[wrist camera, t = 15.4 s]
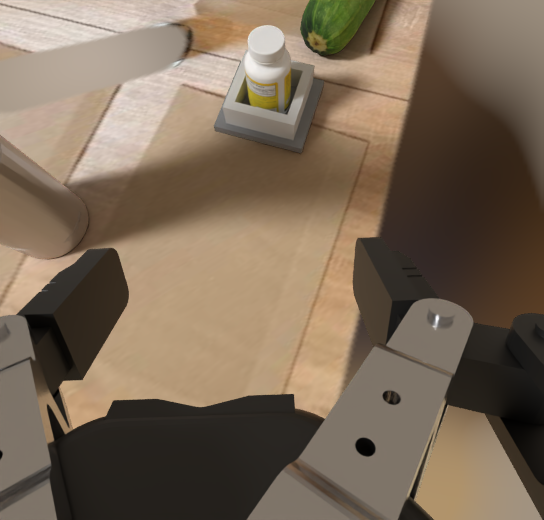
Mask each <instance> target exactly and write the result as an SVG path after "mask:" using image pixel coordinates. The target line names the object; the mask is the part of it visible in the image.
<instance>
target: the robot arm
mask: <svg viewBox="0 0 544 520" xmlns="http://www.w3.org/2000/svg"><path fill="white" fill-rule="evenodd" d="M88 220H89V218H88V211H87V208H86V205H85V204H84V202H83V201H82V200H81V199H80V198H79V197H78V196H77V195H75V194H74V193H73V192H72V191H70V190H69V189H68V188H67V187H65V186H64V185H63V184H62V183H61V182H59V181H58V180H57V179H56V178H54V177H53V176H52V175H50V174H49V173H48V172H47V171H45V170H44V169H43V168H42V167H40V166H39V165H38V164H37V163H35V162H34V161H33V160H31V159H30V158H29V157H28V156H26V155H25V154H24V153H23V152H21V151H20V150H19V149H18V148H16V147H15V146H14V145H13V144H11V143H10V142H9V141H7V140H6V139H5V138H4V137H2V136H1V135H0V244H2V245H4V246H7V247H9V248H12V249H14V250H17V251H19V252H22V253H24V254H26V255H29V256H32V257H35V258H38V259H52V258H56V257H59V256H62V255H64V254H66V253H68V252H69V251H71V250H72V249H73V248H75V247H76V246H77V244H78V243H79V242H80V241H81V240H82V238H83V236H84V235H85V232H86V230H87V227H88ZM353 291H354V296H355V299H356V302H357V304H358V307H359V310H360V313H361V315H362V318H363V321H364V323H365V326H366V329H367V332H368V334H369V337H370V340H371V342H372V345H373V350H372V351H371V352H370V354H369V355H368V357H367V358H366V360H365V361H364V363H363V364H362V366H361V367H360V369H359V370H358V371H357V373H356V374H355V376H354V377H353V379H352V380H351V382H350V383H349V385H348V386H347V388H346V389H345V391H344V392H343V394H342V395H341V397H340V398H339V399H338V401H337V402H336V404H335V405H334V407H333V408H332V410H331V411H330V413H329V414H328V416H327V417H326V419H324V418H322V417H320V416H318V415H316V414H313V413H310V412H307V411H304V410H300V409H295V405H294V394H282V395H254V396H246V397H242V398H238V399H234V400H230V401H226V402H222V403H218V404H215V405H211V406H207V407H194V406H189V405H184V404H179V403H175V402H170V401H165V400H160V399H143V400H115V401H113V402H112V405H111V407H110V409H109V411H108V413H107V415H106V416H105V417H101V418H98V419H96V420H93V421H90V422H88V423H86V424H83V425H81V426H79V427H77V428H75V429H73V427H72V423H71V420H70V416H69V413H68V410H67V406H66V403H65V399H64V396H63V393H62V391H61V389H60V387H59V386H60V385H61V383H62V382H63V381H67V380H83V378H84V376H85V375H86V373H87V371H88V370H89V368H90V366H91V365H92V363H93V361H94V359H95V358H96V356H97V354H98V353H99V351H100V349H101V348H102V346H103V344H104V343H105V341H106V339H107V338H108V336H109V334H110V333H111V331H112V329H113V328H114V326H115V324H116V323H117V321H118V319H119V317H120V316H121V314H122V312H123V311H124V309H125V307H126V306H127V303H128V298H129V291H128V286H127V282H126V279H125V276H124V272H123V269H122V266H121V262H120V259H119V256H118V253H117V251H116V250H115V249H114V248H102V249H89V250H87V251H86V252H85V253H84V254H83V255H82V256H81V257H80V258H79V259H78V260H77V261H76V262H75V263H74V264H73V265H71V266H70V267H68V268H66V269H64V270H63V271H61V272H59V273H58V274H57V275H56V276H55V277H54V278H53V279H52V280H51V281H50V284H47V285H46V286H45V287H44V288H43V289H42V292H39V293H38V294H37V295H36V296H35V297H34V298H33V299H32V300H31V301H30V302H29V303H28V304H27V305H26V306H25V307H24V308H23V309H22V310H21V311H20V312H19V313H18V314H16V315H8V316H2V317H0V520H433V518H432V517H431V516H430V515H429V514H427V513H426V511H425V510H423V509H422V508H421V507H420V506H419V505H418V504H417V503H416V502H415V500H416V497H417V494H418V491H419V488H420V485H421V482H422V479H423V476H424V473H425V470H426V467H427V464H428V461H429V458H430V455H431V452H432V450H433V447H434V444H435V442H436V439H437V436H438V433H439V430H440V428H441V425H442V422H443V419H444V416H445V414H446V411H447V408H448V405H451V406H455V407H459V408H464V409H468V410H472V411H476V412H481V413H485V415H486V417H487V419H488V421H489V422H490V424H491V426H492V428H493V430H494V432H495V434H496V435H497V437H498V439H499V441H500V443H501V444H502V446H503V448H504V450H505V452H506V454H507V455H508V457H509V459H510V461H511V463H512V465H513V466H514V468H515V470H516V472H517V474H518V476H519V477H520V479H521V481H522V483H523V485H524V486H525V488H526V490H527V492H528V494H529V496H530V497H531V499H532V501H533V503H534V505H535V507H536V508H537V510H538V512H539V514H540V515H541V517H542V519H543V520H544V315H543V314H534V313H528V314H521V315H519V316H517V317H515V318H514V320H513V322H512V325H511V327H510V329H506V328H500V327H494V326H488V325H482V324H477V323H474V322H473V319H472V317H471V315H470V314H469V313H468V312H467V311H466V310H465V309H463V308H462V307H460V306H459V305H457V304H455V303H452V302H449V301H446V300H441V299H439V297H438V296H437V294H436V293H435V292H434V290H433V289H432V288H431V286H430V285H429V284H428V282H427V281H426V279H425V278H424V277H422V274H421V273H420V271H419V270H418V269H417V268H416V266H415V265H414V263H413V262H412V260H411V259H410V258H408V257H407V256H405V255H404V254H402V253H400V252H399V251H390V250H389V248H388V247H387V245H386V244H385V242H384V240H383V239H382V238H381V237H370V238H358V239H357V241H356V247H355V259H354V271H353Z"/></svg>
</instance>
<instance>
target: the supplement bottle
mask: <svg viewBox="0 0 544 520" xmlns="http://www.w3.org/2000/svg"><path fill="white" fill-rule="evenodd" d="M248 50H249V51H248V52H247V54H246V56H245V61H244V65H245V74H246V81H247V88H248V96H249V102H250V106H254V107H258V108H262V109H266V110H270V111H274V112H278V113H282V114H285V113H286V112H287V111H288V109H289V106H290V96H291V95H290V94H291V58H290V54H289V52H288V51H287V50H286V48H285V37H284V34H283V32H282V31H281V30H280V29H278V28H277V27H274V26H270V25H264V26H260V27H257V28H256V29H254V30H253V31H252V32H251V33H250V35H249V37H248Z"/></svg>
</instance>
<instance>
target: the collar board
mask: <svg viewBox="0 0 544 520" xmlns="http://www.w3.org/2000/svg"><path fill="white" fill-rule="evenodd" d="M248 51H249V50H246V51H245V54H244V56H243V58H242V61H240V64H239V66H238V69H237V71H236V73H235V76H234V78H233V81H232V83H231V86H230V88H229V90H228V93H227V95H226V98H225V100H224V103H223V105H222V108H221V110H220V112H219V115H218V117H217V120H216V122H215V125H214V128H215V131H217V132H221V133H225V134H229V135H233V136H237V137H241V138H244V139H248V140H252V141H256V142H260V143H264V144H267V145H271V146H275V147H279V148H283V149H287V150H291V151H294V152H298V153H302V150H303V147H304V144H305V141H306V138H307V135H308V132H309V129H310V125H311V122H312V119H313V116H314V113H315V110H316V107H317V104H318V101H319V98H320V95H321V92H322V89H323V85H324V80H319V79H315V78H313V75H314V67H315V66H314V65H310V64H305V63H301V62H297V61H292V60H291V94H290V95H291V96H290V106H289V109H288V111H287V112H286V113H285V114H282V113H278V112H274V111H270V110H266V109H262V108H258V107H254V106H250V102H249V96H248V88H247V81H246V74H245V65H244V61H245V56H246V54H247V52H248Z"/></svg>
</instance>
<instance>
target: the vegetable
mask: <svg viewBox="0 0 544 520" xmlns="http://www.w3.org/2000/svg"><path fill="white" fill-rule="evenodd" d="M374 2H375V0H310V1H309V3H308V5H307V7H306V9H305V11H304V14H303V17H302V21H301V28H300V30H301V34H302V36H303V39H304V42H305V44H306V46H307V47H308V48H310V49H311V50H312V51H313V52H315V53H318V54H320V55H323V56H324V55H329V54H334V53H337V52H339V51H341V50H342V49H343V48H344V47H345V46H346V45H347V43H348V42H349V41H350V40H351V39H352V38H353V36H354V35H355V33H356V32H357V30H358V28H359V26H360V25H361V23H362V21H363V20H364V18H365V17H366V15H367V14H368V12H369V11H370V9H371V7H372V6H373V4H374Z"/></svg>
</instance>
